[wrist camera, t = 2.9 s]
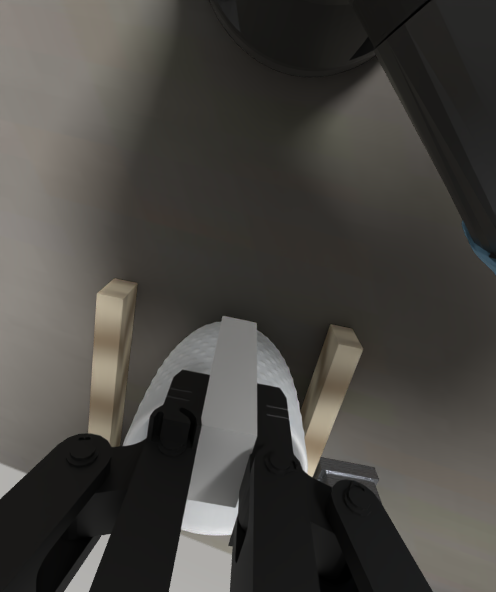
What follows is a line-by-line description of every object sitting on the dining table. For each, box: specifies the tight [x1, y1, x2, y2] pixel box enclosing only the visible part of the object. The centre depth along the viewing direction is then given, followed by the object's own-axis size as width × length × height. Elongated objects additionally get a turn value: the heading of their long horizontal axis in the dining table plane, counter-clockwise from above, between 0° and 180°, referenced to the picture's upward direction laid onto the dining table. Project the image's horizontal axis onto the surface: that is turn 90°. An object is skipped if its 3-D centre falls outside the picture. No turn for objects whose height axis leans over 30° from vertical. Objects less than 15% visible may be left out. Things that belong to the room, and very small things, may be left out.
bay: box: [88, 278, 363, 477], centre depth 32 cm, size 21×21×5 cm
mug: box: [123, 322, 308, 535], centre depth 27 cm, size 15×11×13 cm
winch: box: [313, 457, 382, 504], centre depth 35 cm, size 8×6×8 cm
